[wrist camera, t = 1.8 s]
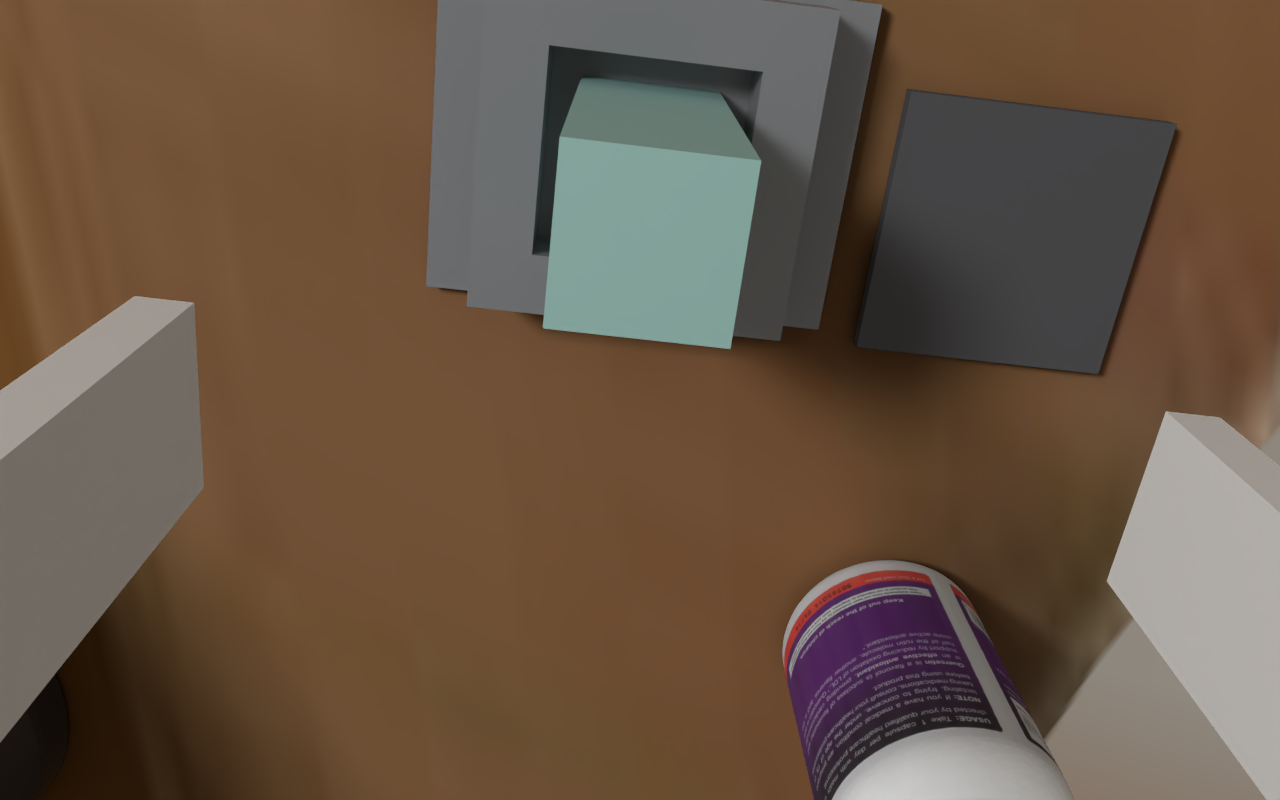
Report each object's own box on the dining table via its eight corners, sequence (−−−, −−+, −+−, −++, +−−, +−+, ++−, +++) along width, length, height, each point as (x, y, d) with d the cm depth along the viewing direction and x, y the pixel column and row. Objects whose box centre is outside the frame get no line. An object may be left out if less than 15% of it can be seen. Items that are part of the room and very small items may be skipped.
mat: (853, 341, 39) (856, 347, 38) (907, 89, 35) (911, 91, 34) (1091, 367, 39) (1098, 374, 39) (1168, 121, 36) (1176, 124, 35)
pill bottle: (745, 670, 44) (793, 977, 31) (838, 519, 42) (936, 787, 28) (910, 733, 46) (1023, 1053, 33) (1011, 592, 43) (1181, 879, 30)
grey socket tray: (428, 281, 38) (413, 307, 35) (443, -53, 33) (426, -53, 30) (815, 324, 38) (829, 353, 36) (878, 3, 34) (900, 8, 31)
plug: (569, 211, 36) (542, 328, 25) (582, 74, 34) (559, 136, 23) (699, 226, 36) (730, 349, 25) (719, 91, 34) (761, 160, 23)
